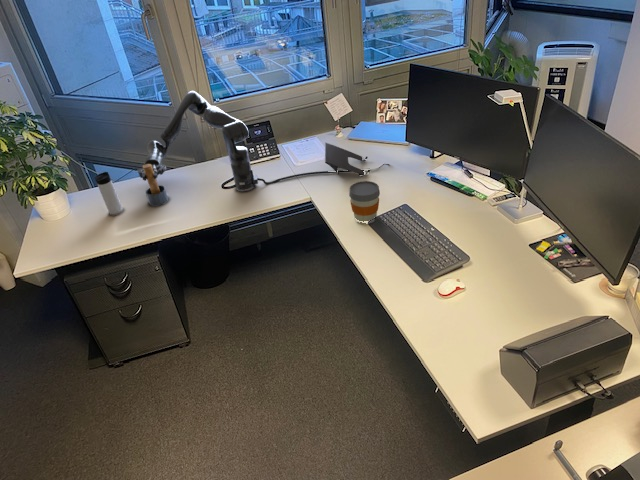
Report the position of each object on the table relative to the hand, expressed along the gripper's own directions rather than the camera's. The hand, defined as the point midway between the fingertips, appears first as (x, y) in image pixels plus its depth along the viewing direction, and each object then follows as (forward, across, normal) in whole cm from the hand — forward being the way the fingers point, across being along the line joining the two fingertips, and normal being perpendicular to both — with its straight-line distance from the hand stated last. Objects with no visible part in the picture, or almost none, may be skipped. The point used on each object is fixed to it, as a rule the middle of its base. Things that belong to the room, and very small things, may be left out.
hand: (149, 178), depth 216 cm
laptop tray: (-4, -95, -15) cm, 96 cm away
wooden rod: (-3, 0, -12) cm, 12 cm away
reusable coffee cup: (+43, -92, -15) cm, 103 cm away
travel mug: (+1, +20, -15) cm, 25 cm away
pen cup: (-3, 0, -14) cm, 15 cm away
